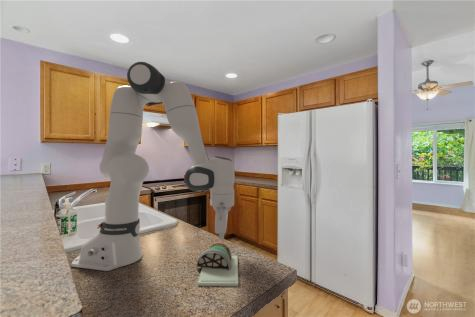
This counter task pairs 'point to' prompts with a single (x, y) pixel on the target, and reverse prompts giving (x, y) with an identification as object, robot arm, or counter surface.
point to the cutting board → (220, 275)
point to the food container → (215, 257)
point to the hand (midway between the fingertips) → (221, 237)
